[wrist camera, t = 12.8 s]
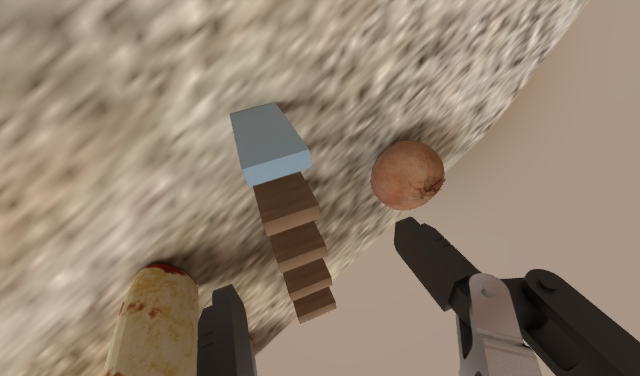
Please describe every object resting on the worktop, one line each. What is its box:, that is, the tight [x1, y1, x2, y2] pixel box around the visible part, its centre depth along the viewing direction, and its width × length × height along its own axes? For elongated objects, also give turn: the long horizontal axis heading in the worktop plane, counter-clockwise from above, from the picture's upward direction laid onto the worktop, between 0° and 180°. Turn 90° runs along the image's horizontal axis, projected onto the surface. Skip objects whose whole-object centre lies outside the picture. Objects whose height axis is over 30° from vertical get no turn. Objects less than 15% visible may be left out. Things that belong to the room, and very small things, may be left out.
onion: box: [371, 140, 445, 210], centre depth 34 cm, size 10×9×10 cm
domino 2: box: [253, 171, 321, 237], centre depth 27 cm, size 2×5×12 cm, turn 97°
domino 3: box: [270, 221, 328, 273], centre depth 30 cm, size 2×5×12 cm, turn 98°
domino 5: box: [293, 287, 336, 324], centre depth 37 cm, size 2×5×12 cm, turn 97°
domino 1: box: [230, 102, 312, 187], centre depth 23 cm, size 2×5×12 cm, turn 98°
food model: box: [103, 263, 199, 376], centre depth 28 cm, size 10×7×20 cm
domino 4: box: [283, 258, 332, 301], centre depth 34 cm, size 2×5×12 cm, turn 98°
